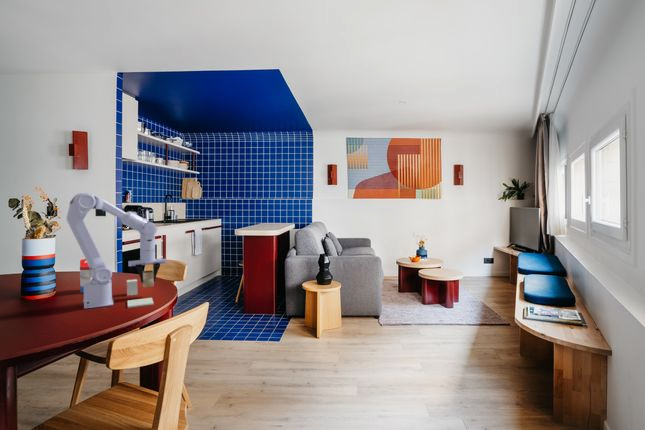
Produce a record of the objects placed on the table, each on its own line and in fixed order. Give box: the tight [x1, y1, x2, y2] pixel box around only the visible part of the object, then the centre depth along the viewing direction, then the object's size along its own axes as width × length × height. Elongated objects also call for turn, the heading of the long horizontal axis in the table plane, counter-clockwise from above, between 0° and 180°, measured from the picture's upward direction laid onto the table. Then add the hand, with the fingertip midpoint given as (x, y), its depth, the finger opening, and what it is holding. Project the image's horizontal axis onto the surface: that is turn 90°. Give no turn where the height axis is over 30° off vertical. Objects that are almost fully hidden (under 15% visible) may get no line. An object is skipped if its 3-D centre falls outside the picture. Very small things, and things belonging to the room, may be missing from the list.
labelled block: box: [142, 269, 155, 288], centre depth 154 cm, size 4×4×6 cm
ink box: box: [79, 258, 92, 294], centre depth 164 cm, size 8×5×15 cm, turn 179°
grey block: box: [126, 278, 139, 297], centre depth 158 cm, size 4×4×6 cm
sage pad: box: [127, 297, 155, 309], centre depth 144 cm, size 9×9×1 cm
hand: (148, 281), depth 154 cm, fingers closed on labelled block, 4 cm apart
